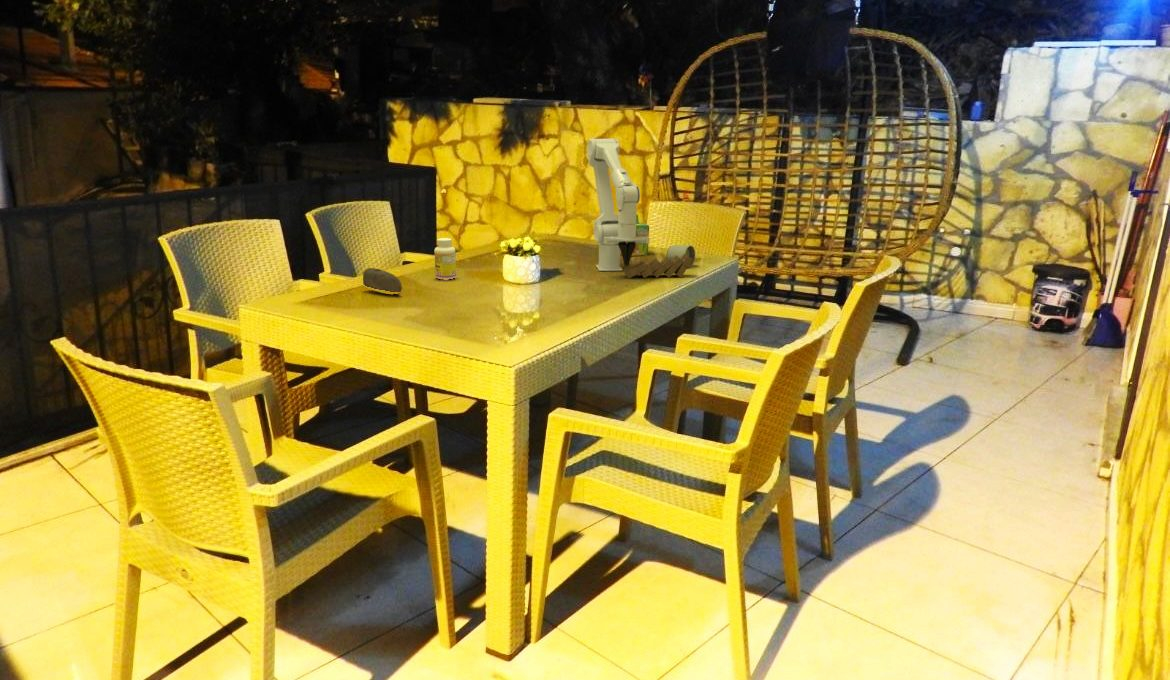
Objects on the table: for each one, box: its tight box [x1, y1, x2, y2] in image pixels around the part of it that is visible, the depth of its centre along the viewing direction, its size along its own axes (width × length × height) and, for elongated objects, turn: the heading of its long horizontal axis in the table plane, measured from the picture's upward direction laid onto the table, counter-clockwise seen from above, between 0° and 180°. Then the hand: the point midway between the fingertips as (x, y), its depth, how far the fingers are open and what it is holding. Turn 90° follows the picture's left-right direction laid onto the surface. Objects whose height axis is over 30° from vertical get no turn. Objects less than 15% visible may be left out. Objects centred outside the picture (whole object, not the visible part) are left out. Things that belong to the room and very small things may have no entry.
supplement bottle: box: [433, 237, 457, 280], centre depth 272 cm, size 7×7×13 cm
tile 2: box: [639, 258, 662, 279], centre depth 278 cm, size 5×2×7 cm
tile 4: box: [663, 256, 683, 279], centre depth 279 cm, size 5×2×7 cm
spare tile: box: [623, 260, 648, 279], centre depth 278 cm, size 5×2×7 cm
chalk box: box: [620, 213, 650, 257], centre depth 317 cm, size 9×9×15 cm
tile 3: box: [651, 257, 673, 279], centre depth 278 cm, size 5×2×7 cm
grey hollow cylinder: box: [665, 244, 696, 268], centre depth 295 cm, size 11×8×8 cm
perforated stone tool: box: [362, 267, 403, 293], centre depth 251 cm, size 15×5×7 cm, turn 51°
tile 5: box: [673, 254, 692, 278], centre depth 279 cm, size 5×2×7 cm, turn 7°
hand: (626, 265), depth 277 cm, fingers closed
